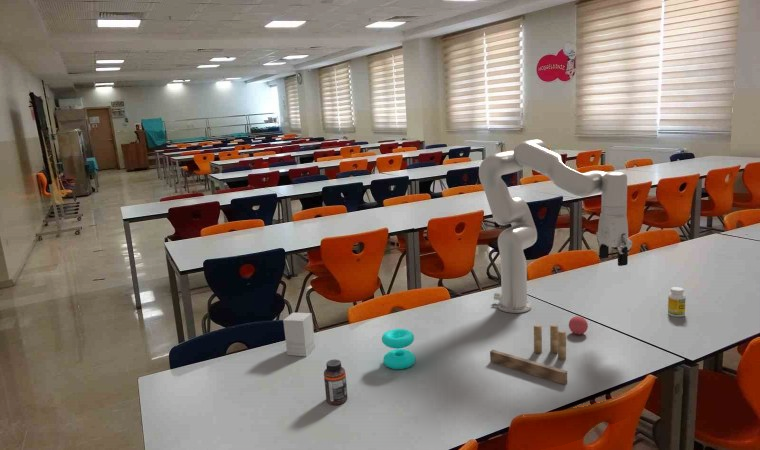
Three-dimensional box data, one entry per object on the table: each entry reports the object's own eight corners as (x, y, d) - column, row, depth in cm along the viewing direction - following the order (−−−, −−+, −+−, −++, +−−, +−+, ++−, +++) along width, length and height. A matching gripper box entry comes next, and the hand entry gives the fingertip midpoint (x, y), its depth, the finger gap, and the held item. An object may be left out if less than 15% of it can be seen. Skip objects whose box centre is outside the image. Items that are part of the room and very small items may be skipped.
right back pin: (556, 358, 167) (556, 332, 165) (560, 355, 168) (560, 329, 167) (563, 360, 165) (563, 334, 163) (567, 357, 167) (567, 331, 165)
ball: (565, 334, 183) (565, 317, 182) (573, 328, 188) (573, 312, 186) (583, 338, 179) (583, 321, 178) (590, 332, 184) (590, 316, 182)
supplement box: (316, 347, 187) (312, 312, 184) (306, 357, 180) (302, 321, 177) (296, 346, 189) (293, 311, 187) (286, 355, 182) (282, 319, 180)
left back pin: (532, 352, 172) (532, 326, 171) (536, 349, 174) (536, 324, 172) (539, 353, 171) (539, 328, 169) (543, 351, 172) (543, 325, 171)
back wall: (490, 361, 168) (490, 351, 167) (493, 360, 169) (492, 349, 168) (564, 384, 151) (564, 373, 150) (567, 382, 152) (567, 371, 151)
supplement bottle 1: (326, 395, 154) (322, 358, 152) (347, 393, 155) (344, 356, 152) (326, 406, 148) (322, 368, 146) (348, 404, 149) (344, 365, 146)
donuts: (403, 324, 175) (419, 334, 167) (405, 353, 177) (421, 365, 169) (375, 332, 171) (391, 343, 162) (378, 361, 173) (393, 374, 164)
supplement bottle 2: (672, 310, 198) (673, 285, 196) (687, 314, 193) (689, 288, 191) (664, 314, 195) (665, 288, 193) (679, 318, 190) (680, 292, 188)
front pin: (548, 351, 172) (548, 326, 170) (552, 349, 173) (552, 323, 172) (556, 353, 170) (556, 328, 168) (559, 351, 172) (559, 325, 170)
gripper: (587, 207, 185) (587, 256, 188) (620, 216, 168) (619, 269, 171) (607, 205, 186) (606, 254, 190) (642, 213, 170) (640, 266, 173)
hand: (613, 261), depth 180 cm, fingers open, 9 cm apart
